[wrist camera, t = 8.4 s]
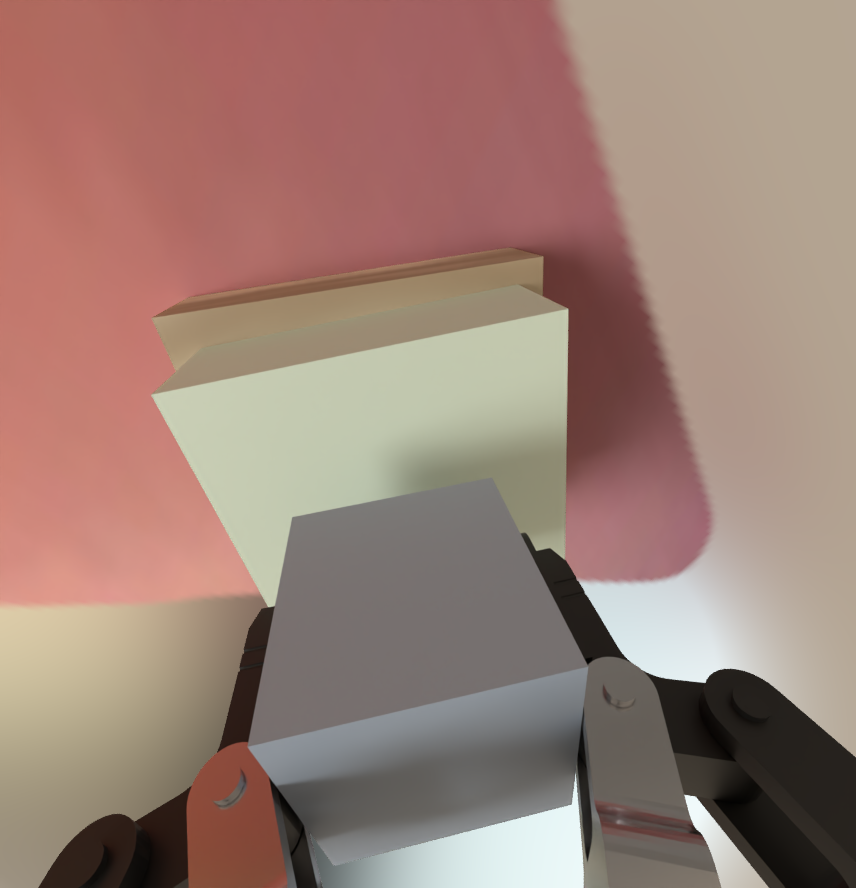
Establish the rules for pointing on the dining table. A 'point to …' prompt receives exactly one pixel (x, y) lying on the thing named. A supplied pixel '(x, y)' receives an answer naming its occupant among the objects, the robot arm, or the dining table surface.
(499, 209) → the dining table surface
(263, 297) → the base block
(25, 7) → the dining table surface
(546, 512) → the top block
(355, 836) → the slate cube
